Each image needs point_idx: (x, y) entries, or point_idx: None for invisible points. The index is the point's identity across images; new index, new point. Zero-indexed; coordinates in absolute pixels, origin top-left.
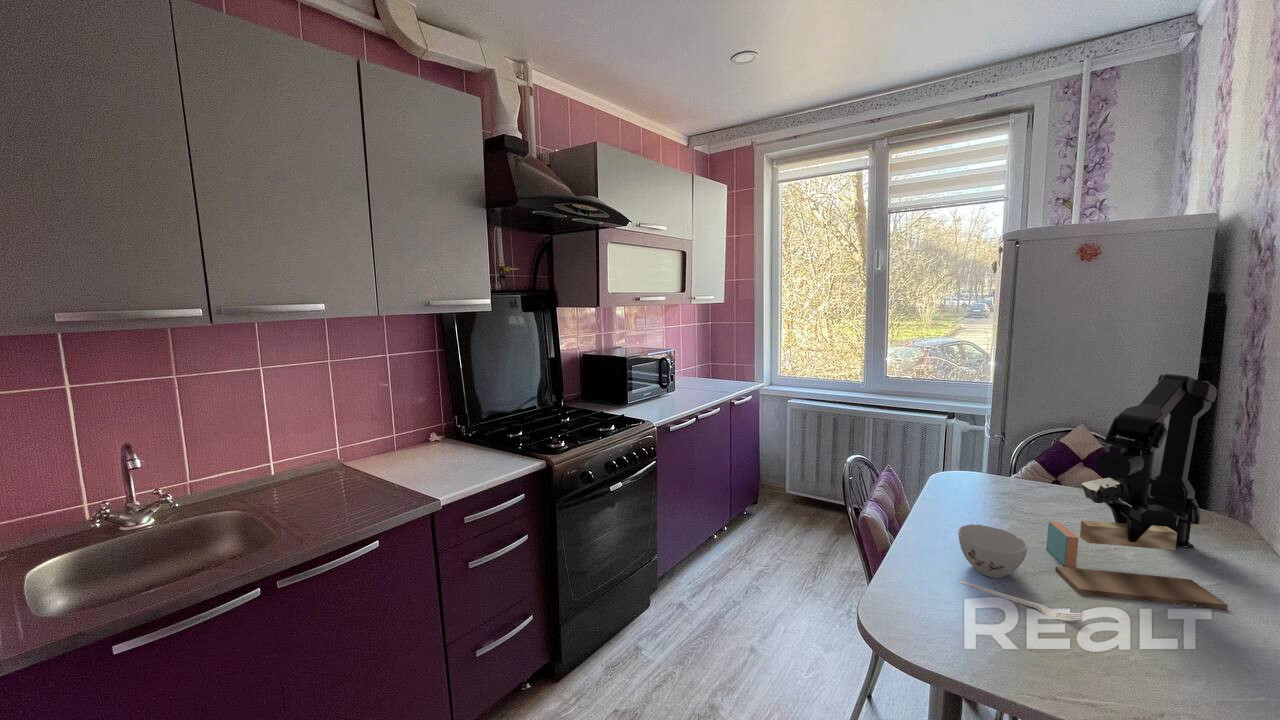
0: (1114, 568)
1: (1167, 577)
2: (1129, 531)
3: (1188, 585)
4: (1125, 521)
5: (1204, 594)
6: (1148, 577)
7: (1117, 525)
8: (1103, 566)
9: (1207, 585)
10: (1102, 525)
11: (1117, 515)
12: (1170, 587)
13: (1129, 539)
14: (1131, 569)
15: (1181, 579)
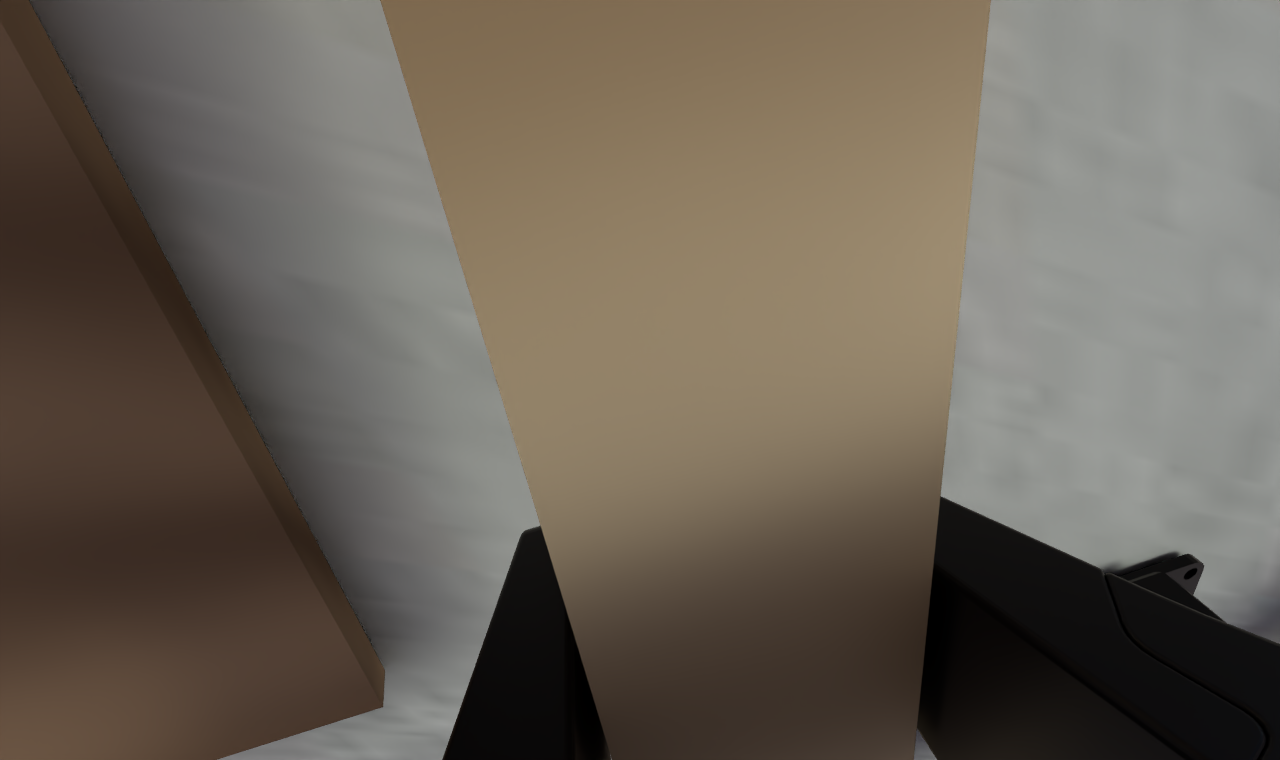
0: (398, 179)
1: (309, 586)
2: (495, 704)
3: (215, 686)
4: (964, 716)
5: (65, 753)
6: (168, 448)
7: (761, 559)
8: (390, 57)
9: (431, 736)
10: (596, 163)
11: (1122, 733)
12: (10, 577)
13: (521, 555)
14: (469, 344)
15: (338, 659)
